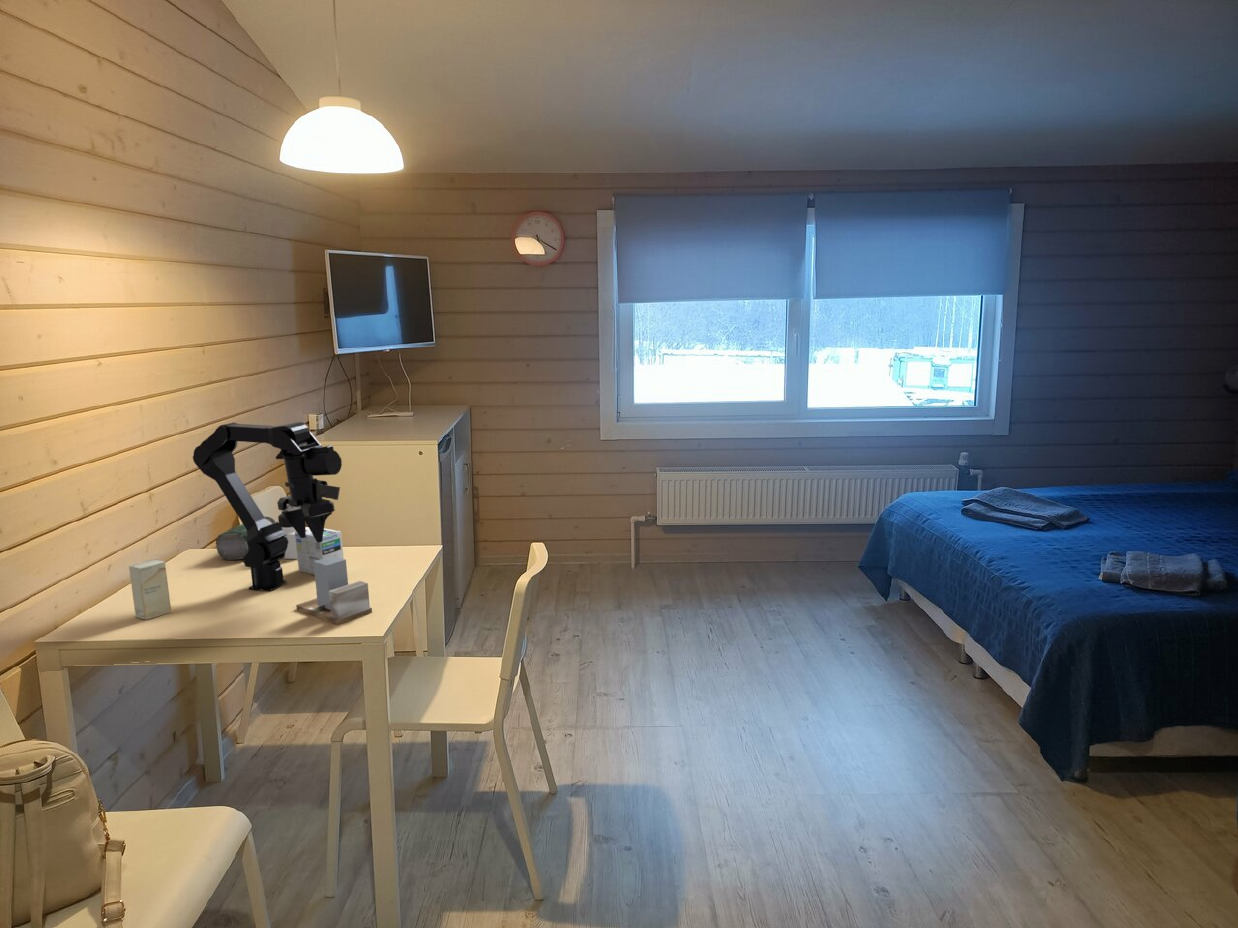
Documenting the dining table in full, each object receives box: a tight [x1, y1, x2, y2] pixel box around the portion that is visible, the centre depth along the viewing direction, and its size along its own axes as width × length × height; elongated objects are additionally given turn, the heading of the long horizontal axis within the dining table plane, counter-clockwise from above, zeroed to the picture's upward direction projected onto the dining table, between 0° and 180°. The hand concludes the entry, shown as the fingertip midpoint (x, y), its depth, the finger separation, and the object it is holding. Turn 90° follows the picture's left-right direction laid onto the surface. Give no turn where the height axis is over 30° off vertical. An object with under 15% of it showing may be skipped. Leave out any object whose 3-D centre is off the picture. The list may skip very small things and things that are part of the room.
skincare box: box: [128, 558, 172, 621], centre depth 196 cm, size 6×4×12 cm
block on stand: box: [295, 580, 373, 626], centre depth 196 cm, size 16×9×7 cm, turn 52°
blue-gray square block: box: [314, 556, 349, 610], centre depth 195 cm, size 6×6×10 cm
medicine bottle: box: [277, 513, 309, 560], centre depth 237 cm, size 7×7×12 cm
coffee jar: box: [215, 515, 277, 561], centre depth 243 cm, size 10×8×19 cm
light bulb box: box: [295, 527, 345, 576], centre depth 224 cm, size 11×7×11 cm, turn 58°
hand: (311, 539), depth 207 cm, fingers open, 9 cm apart
